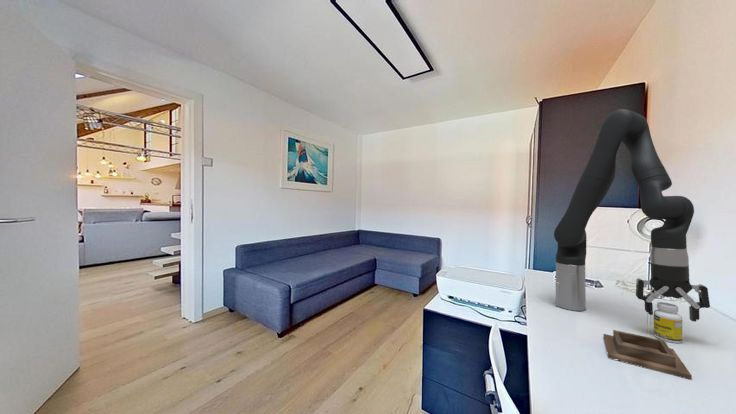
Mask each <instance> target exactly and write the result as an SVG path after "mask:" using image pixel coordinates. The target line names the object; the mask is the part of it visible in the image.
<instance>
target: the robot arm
mask: <svg viewBox="0 0 736 414" xmlns="http://www.w3.org/2000/svg"><path fill="white" fill-rule="evenodd" d="M651 135H652V134H651V131H650V127H649V123H648V121H647V118H646V117H645V116H644V115H643V114H640V113H638V112H635V111H633V110H630V109H627V108H619V109H616V110H614V111H613V112H611V113H610V114H609V115H607V117H606V118H605V119H604V122H603V123H602V124H601V126H600V129H599V133H598V136H597V139H596V143H595V144H594V147H593V150H592V152H591V155H590V156H589V159H588V162H587V164H586V166H585V168H584V170H583V172H582V174H581V176H580V177H579V180H578V182H577V184H576V185H575V189H574V192H573V194H572V196H571V199H570V201H569V205H568V208H567V209H566V211H565V213H564V214H563V216H562V217H561V220H560V221H559V222H558V224H557V226H556V227H555V228H554V231H553V237H554V240H555V241H556V242H557V249H556V250H557V251H556V254H555V307H559V308H562V309H565V310H569V311H574V312H582V311H583V312H584V311H585V310H586V308H587V307H586V305H587V301H586V300H587V299H586V296H587V295H586V294H587V293H586V258H587V231H586V228H587V225H588V222H589V220H590V218H591V217H592V215H593V213H594V212H595V211H596V210H597V208H598V207H599V205H601V203H602V202H603V200H604V199H605V198H606V195H607V194H608V192H609V190H610V189H611V187H612V184H613V183H614V180H615V178H616V170H617V169H616V168H617V166H616V165H617V162H616V160H617V154H618V151H619V147H620V145H621V144H622V143H623V144H624V147H626V148H627V151H628V153H629V156H630V169H631V173H632V176H633V177H634V180H635V181H636V182H635V183H636V184H637V185H638V188H639V198H640V203H639V204H640V208H641V209H640V210H641V212H642V213H643V214H644V215H645V216H646V217H647V218H649V219H651V220H657V221H658V220H660V221H661V220H664V222H663V225H661V226H659V227H654V228H652V229H651V231H650V257H649V260H650V261H649V262H650V279H649V280H646V279H642V278H636V283H635V285H636V286H635V296H636V298H637V299H638V300H641V301H643V302H644V311H645V312H646V313H647V314H648V315H651V316H654V307H653V301H655V299H658V298H659V297H660V296H662V297H664V298H673V299H681V298H682V299H684V300H685V302H687V303H688V304H689V305H690V306H688V309H689V310H688V313H689V320H690V321H692V322H695V323H696V322H697V321H699V320H700V309H704V308H706V309H709V308H710V307H711V305H710V297H709V289H708V287H707V286H705V285H703V284H692V283H690V262H689V260H690V259H689V254H688V248H687V247H688V246H687V233H688V231H689V228H690V226H691V223H692V220H693V217H694V213H695V208H694V204H693V202H692V201H691V200H690V199H689V198H688V197H686V196H683V195H665V196H664V194H663V193H662V192H663V191H666V190H668V189H670V188H671V187H672V184H673V182H672V179H671V178H670V175H669V174H668V171H667V169H666V168H665V166H664V164H663V163H662V161H661V159H660V157H659V155H658V153H657V151H656V148H655V145H654V142H653V140H652V136H651ZM649 285H650V287H651V288H652V289H651V290H650V291H649V292H648V294H646V295H644V288H646V287H647V286H649ZM692 290H694V291H695V292H696V293H698V294H697V295H698V301H697V302H696V301H695V300H694V299H693V298H692V297H691V296H690V295H689V294H688V293H689V292H691V291H692Z"/></svg>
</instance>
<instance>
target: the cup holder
mask: <svg viewBox="0 0 736 414" xmlns="http://www.w3.org/2000/svg"><path fill="white" fill-rule="evenodd" d="M612 332H613V333H612V335H611V334H606V333H603V340H604V344H605V345H604V346H605V349H606V352H608V354H607V357H609V358H612V359H611V360H613V359H618V360H621V361H624V362H623V363H625V362H628V363H627V364H629V363H632V364H636V365H639V366H638V367H640V366H642V367H641V368H644V367H645V369H648V370H653V371H656V372H659V371H660V372H661V373H663V372H664V373H663V374H667V373H669V374H668V375H671V374H674V375H673V376H675V375H677V376H676V377H679V376H681V377H680V378H683V377H685V378H684V379H687V380H690V379H691V380H692V379H693V378H692V374H691V372H690V371H689V369H688V368H687V367H686V366H685V364H684V362H683V361H682V360H681V359H680V357H679V356H678V354H677V353H676V351H675V349H674V348H671V347H669V345H668V344H667V342H666V341H664V340H661V339H659V338H655V337H649V336H645V335H639V334H636V333H635V334H634V333H630V332H625V331H620V330H616V329H613V330H612ZM609 358H608V359H609ZM621 361H620V362H621ZM632 364H631V365H632ZM636 365H635V366H636ZM691 380H690V381H691Z"/></svg>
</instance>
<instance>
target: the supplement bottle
mask: <svg viewBox="0 0 736 414" xmlns="http://www.w3.org/2000/svg"><path fill="white" fill-rule="evenodd" d="M656 308H657V309H655V310H653V335H654V336H655V337H656V339H660V340H664V341H665V342H666V343H667V342H668V343H673V344H681V343H683V316H682V315H681V314H680V313H678V312H679V306H678V305H676V304H673V303H668V302H663V301H662V302H660V301H659V302H657V303H656ZM655 337H654V338H655Z"/></svg>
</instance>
